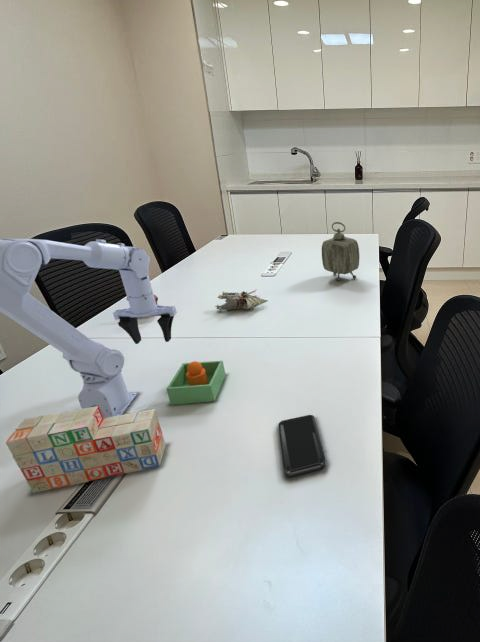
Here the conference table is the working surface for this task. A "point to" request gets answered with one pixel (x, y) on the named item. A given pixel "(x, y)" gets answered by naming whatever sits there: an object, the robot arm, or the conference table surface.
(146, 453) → the stack of blocks
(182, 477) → the conference table surface
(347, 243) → the tabletop clock
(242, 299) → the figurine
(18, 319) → the robot arm
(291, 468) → the phone
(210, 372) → the green bin
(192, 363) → the cylinder
